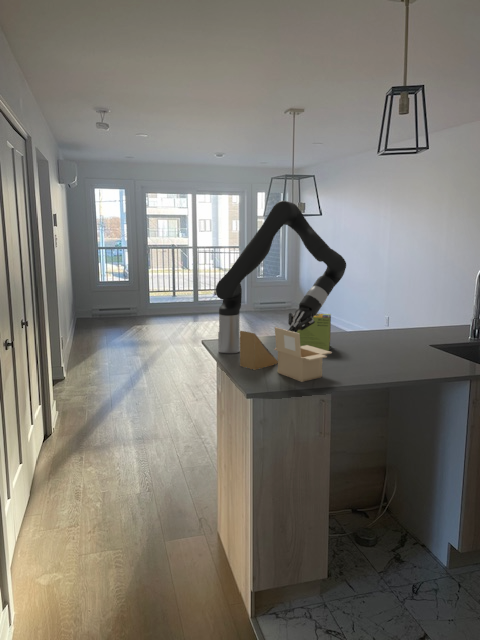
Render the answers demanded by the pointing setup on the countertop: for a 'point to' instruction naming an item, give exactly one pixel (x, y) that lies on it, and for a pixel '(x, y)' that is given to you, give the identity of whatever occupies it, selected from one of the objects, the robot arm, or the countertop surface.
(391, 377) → the countertop surface
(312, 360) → the carton
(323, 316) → the protein box
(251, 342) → the sandwich container
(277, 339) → the flap
